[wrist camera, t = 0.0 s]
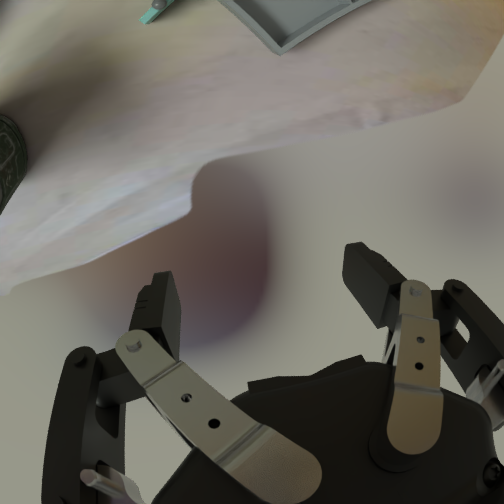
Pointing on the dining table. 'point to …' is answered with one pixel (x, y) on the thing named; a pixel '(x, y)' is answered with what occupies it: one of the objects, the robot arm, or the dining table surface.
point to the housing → (288, 18)
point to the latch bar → (155, 10)
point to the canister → (10, 160)
